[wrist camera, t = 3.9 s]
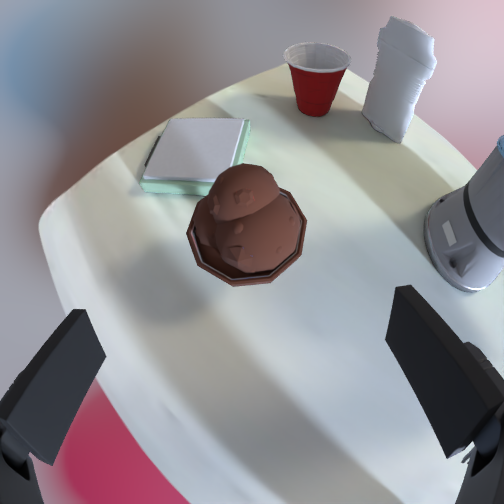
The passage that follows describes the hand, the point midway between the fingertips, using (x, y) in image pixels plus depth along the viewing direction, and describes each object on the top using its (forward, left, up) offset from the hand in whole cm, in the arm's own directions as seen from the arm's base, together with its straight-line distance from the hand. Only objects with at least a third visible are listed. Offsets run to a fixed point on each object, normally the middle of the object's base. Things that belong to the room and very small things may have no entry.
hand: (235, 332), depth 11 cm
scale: (+13, -26, -21) cm, 36 cm away
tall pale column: (-17, -39, -21) cm, 48 cm away
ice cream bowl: (+2, -10, -21) cm, 24 cm away
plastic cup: (-4, -41, -21) cm, 47 cm away
